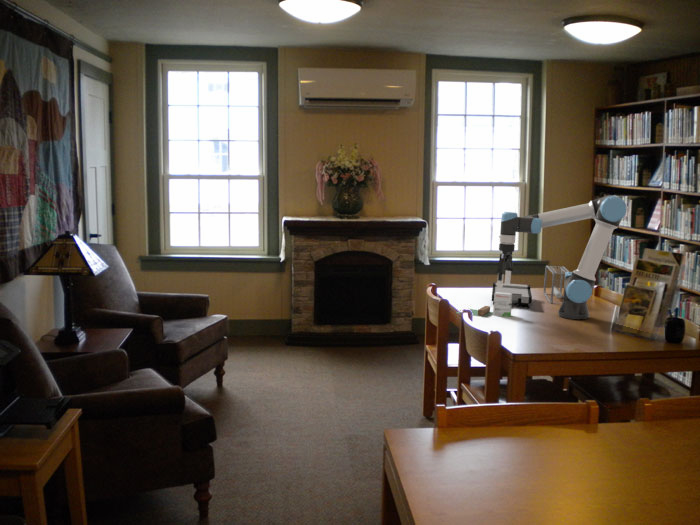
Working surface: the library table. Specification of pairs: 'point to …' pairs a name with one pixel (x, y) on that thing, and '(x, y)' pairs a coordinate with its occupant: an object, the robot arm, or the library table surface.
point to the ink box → (502, 304)
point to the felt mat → (475, 313)
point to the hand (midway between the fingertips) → (503, 285)
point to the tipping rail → (483, 310)
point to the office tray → (515, 293)
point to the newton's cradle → (554, 289)
